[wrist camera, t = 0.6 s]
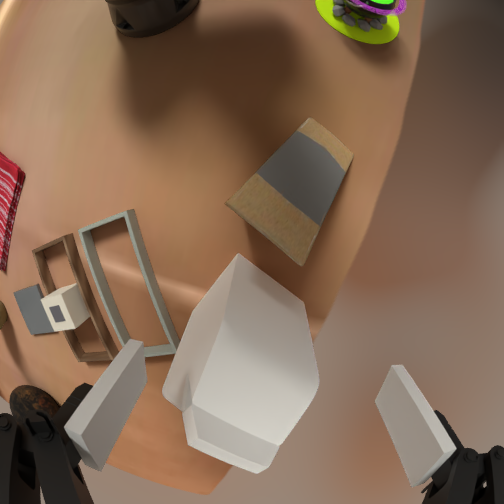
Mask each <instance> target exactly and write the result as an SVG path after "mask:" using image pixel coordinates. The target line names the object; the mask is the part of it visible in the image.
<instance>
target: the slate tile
mask: <svg viewBox="0 0 504 504" xmlns="http://www.w3.org/2000/svg"><path fill="white" fill-rule="evenodd" d="M14 296H15V298H16V301H17V303H18V306H19V308H20V311H21V313H22V316H23V318H24V320H25V322H26V325H27V327H28V329H29V331H30V333H31V335H33V334H41V333H49V332H54V329H53V327H52V325H51V323H50V321H49V318H48V316H47V314H46V312H45V309H44V307H43V304H42V302H41V299H42V298H44V297H43V294H42V291H41V289H40V286H39V284H36V285H34V286H31V287H28V288H25V289H22V290H19V291H16V292H14ZM55 332H56V331H55Z"/></svg>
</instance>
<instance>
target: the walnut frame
mask: <svg viewBox="0 0 504 504" xmlns="http://www.w3.org/2000/svg"><path fill="white" fill-rule="evenodd" d="M62 241H63V243H64V246H65V250H66V253H67V256H68V259H69V262H70V265H71V268H72V271H73V274H74V277H75V280H76V282H77V285H78V288H79V290H80V293H81V296H82V298H83V301H84V303H85V305H86V308H87V310H88V313H89V315H90V317H91V319H92V322H93V324H94V326H95V328H96V330H97V333H98V335H99V337H100V339H101V341H102V343H103V345H104V347H105V349H106V351H105V352H93V353H84V351H83V349H82V347H81V345H80V343H79V341H78V339H77V337H76V335H75V333H74V331H73V329H69V330H62V331H63V333H64V335H65V337H66V339H67V341H68V343H69V345H70V347H71V349H72V351H73V353H74V355H75V357H76V359H77V360H78V362H89V361H106V360H114V358H115V357H116V356H117V355H118V353H119V351H118V349H117V347H116V345H115V343H114V341H113V339H112V337H111V335H110V333H109V331H108V328H107V326H106V324H105V322H104V320H103V317H102V315H101V313H100V310H99V308H98V306H97V303H96V301H95V298H94V296H93V293H92V290H91V288H90V285H89V283H88V280H87V277H86V274H85V271H84V269H83V266H82V263H81V260H80V257H79V253H78V250H77V247H76V244H75V240H74V237H73V233H72V234H68V235H65V236H63V237H60V238H58V239H56V240H54V241H51V242H49V243H47V244H45V245H43V246H41V247H39V248H36V249H34V250H32V252H33V256H34V259H35V262H36V265H37V268H38V271H39V274H40V277H41V280H42V283H43V286H44V288H45V291H46V294H47V295H49V294H51V293H52V292H54V291H56V288H55V285H54V283H53V280H52V277H51V274H50V271H49V268H48V265H47V262H46V259H45V256H44V252H43V250H44V249H46V248H48V247H51V246H53V245H55V244H57V243H60V242H62Z"/></svg>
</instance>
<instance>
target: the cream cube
mask: <svg viewBox="0 0 504 504" xmlns="http://www.w3.org/2000/svg"><path fill="white" fill-rule="evenodd" d="M41 302H42V304H43V307H44V309H45V312H46V314H47V316H48V318H49V321H50V323H51V325H52V327H53V329H54V332H55V331H62V330H69V329H76V328H77V327H78V326H79V325H81V324H82V323H83V322H84V321H85V320H87V319H88V318H89V317H90V315H89V313H88V310H87V308H86V305H85V303H84V301H83V298H82V296H81V293H80V290H79V288H78V285H77V283H76V284H72V285H69V286H65V287H62V288H59V289H58V290H56V291H54V292H52V293H51V294H49V295H47V296H46V297H44V298H42V299H41Z"/></svg>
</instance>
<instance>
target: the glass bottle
mask: <svg viewBox="0 0 504 504" xmlns="http://www.w3.org/2000/svg"><path fill="white" fill-rule="evenodd" d="M10 409H11V412H12V415H13V417H14V418H15V419H16V421H17V423H18V424H22V425H24V424H23V418H24V416H25V415H26V413H28V412H29V411H31V410H35V409H39V410H43V411H46V412H47V413H48V414H49V415H50V416H51V418H53V416H54V415H55V414H56V413H57V411H58V410H59V409H60V408H59V407H58V405H57V404H56V402H55V401H54V400H53V399H52V398H51V397H50V396H49V395H48V394H47V393H45V392H44V391H42V390H41V389H39V388H37V387H34V386H30V385H22V386H18V387H17V388H15V389H14V390H13V391H12V393H11V395H10Z"/></svg>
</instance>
